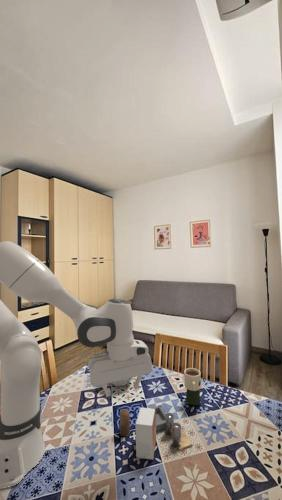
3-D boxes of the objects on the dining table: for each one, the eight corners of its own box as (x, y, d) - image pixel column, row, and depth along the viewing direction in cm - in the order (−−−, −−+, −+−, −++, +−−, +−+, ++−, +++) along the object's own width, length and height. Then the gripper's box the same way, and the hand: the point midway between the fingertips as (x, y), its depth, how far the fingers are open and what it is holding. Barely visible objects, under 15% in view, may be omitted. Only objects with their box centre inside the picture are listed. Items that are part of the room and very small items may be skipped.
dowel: (121, 437, 76) (121, 417, 76) (119, 429, 79) (118, 410, 79) (131, 434, 77) (130, 414, 77) (128, 427, 80) (127, 408, 80)
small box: (153, 460, 67) (152, 426, 67) (136, 457, 68) (135, 424, 68) (156, 439, 74) (155, 408, 75) (141, 436, 76) (140, 406, 76)
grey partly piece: (148, 435, 76) (148, 428, 76) (139, 417, 85) (139, 411, 85) (171, 427, 79) (171, 420, 79) (160, 411, 88) (160, 404, 88)
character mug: (203, 411, 87) (202, 379, 87) (186, 410, 88) (185, 378, 88) (199, 394, 98) (198, 365, 98) (184, 393, 98) (183, 365, 99)
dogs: (176, 451, 69) (176, 433, 70) (163, 428, 79) (162, 412, 79) (192, 445, 71) (191, 427, 72) (177, 424, 81) (176, 408, 81)
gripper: (89, 359, 63) (91, 407, 63) (152, 347, 70) (154, 389, 70) (87, 351, 69) (88, 394, 69) (146, 340, 76) (147, 379, 76)
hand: (122, 391), depth 69 cm, fingers open, 8 cm apart
